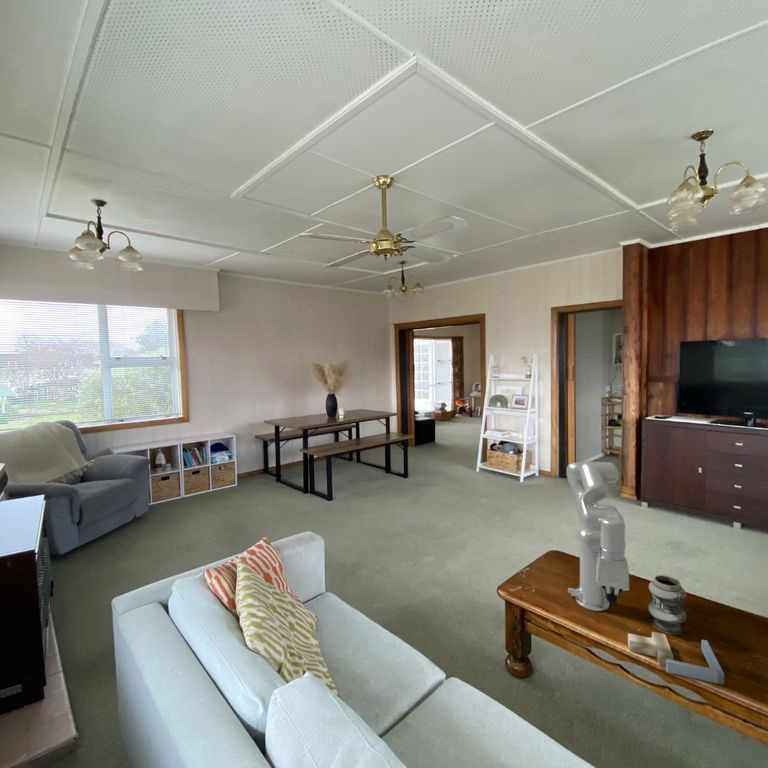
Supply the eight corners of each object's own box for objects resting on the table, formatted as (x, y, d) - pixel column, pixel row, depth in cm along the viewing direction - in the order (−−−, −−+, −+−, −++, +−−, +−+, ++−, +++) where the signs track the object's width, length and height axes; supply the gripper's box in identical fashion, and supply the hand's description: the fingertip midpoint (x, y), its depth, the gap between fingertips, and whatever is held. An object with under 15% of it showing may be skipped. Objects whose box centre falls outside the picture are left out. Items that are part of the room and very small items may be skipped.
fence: (667, 672, 138) (667, 661, 137) (656, 640, 153) (656, 630, 153) (724, 685, 132) (724, 674, 132) (706, 650, 147) (707, 640, 147)
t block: (631, 658, 144) (631, 647, 144) (626, 637, 155) (626, 626, 155) (673, 668, 139) (673, 656, 139) (664, 645, 150) (664, 634, 150)
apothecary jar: (645, 613, 169) (646, 569, 168) (682, 620, 164) (683, 575, 163) (650, 631, 158) (651, 584, 157) (689, 639, 153) (690, 591, 152)
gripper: (589, 554, 149) (589, 604, 150) (638, 561, 143) (637, 613, 144) (588, 545, 156) (587, 593, 157) (634, 552, 150) (634, 602, 151)
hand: (611, 603), depth 151 cm, fingers closed
